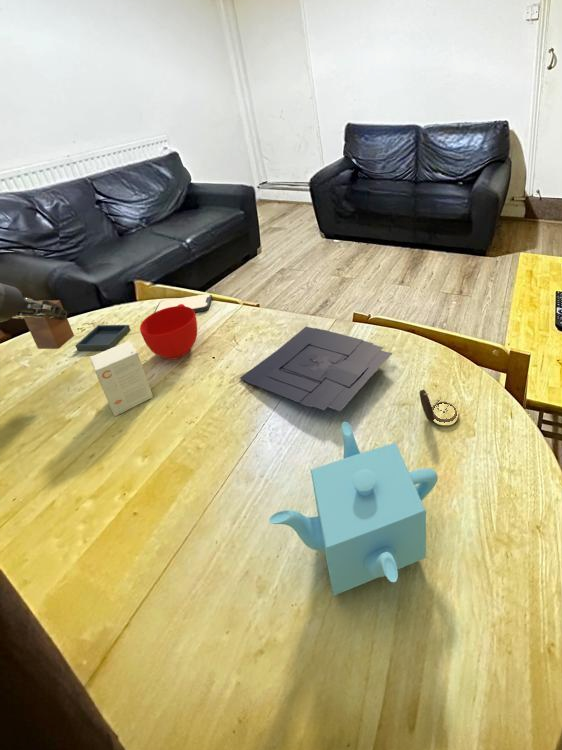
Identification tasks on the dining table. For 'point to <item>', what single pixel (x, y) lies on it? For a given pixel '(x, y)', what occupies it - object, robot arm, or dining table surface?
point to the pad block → (49, 330)
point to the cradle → (103, 338)
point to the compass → (429, 410)
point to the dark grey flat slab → (318, 368)
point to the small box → (121, 377)
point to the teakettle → (365, 514)
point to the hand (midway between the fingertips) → (53, 315)
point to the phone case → (188, 302)
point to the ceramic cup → (170, 331)
